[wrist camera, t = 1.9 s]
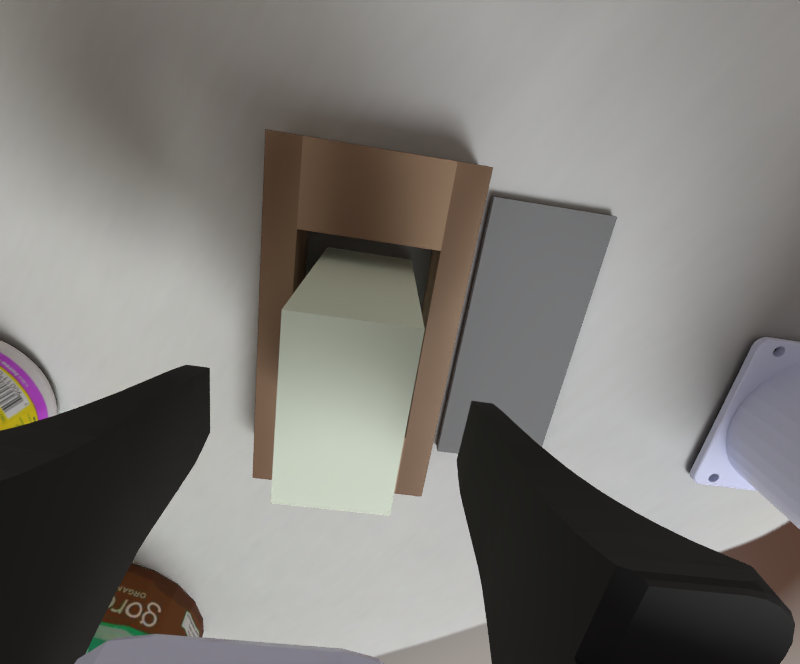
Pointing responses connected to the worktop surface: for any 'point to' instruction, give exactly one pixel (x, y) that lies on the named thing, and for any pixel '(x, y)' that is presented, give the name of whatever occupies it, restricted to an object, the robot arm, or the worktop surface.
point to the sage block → (346, 382)
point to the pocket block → (378, 221)
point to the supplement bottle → (22, 390)
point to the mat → (524, 313)
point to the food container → (148, 609)
